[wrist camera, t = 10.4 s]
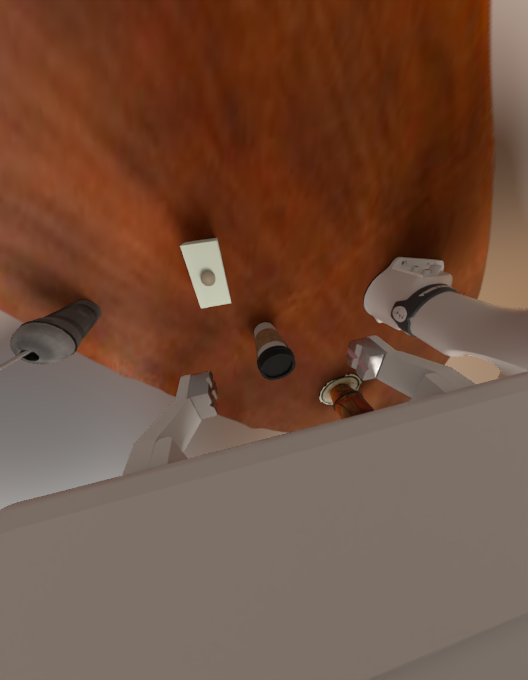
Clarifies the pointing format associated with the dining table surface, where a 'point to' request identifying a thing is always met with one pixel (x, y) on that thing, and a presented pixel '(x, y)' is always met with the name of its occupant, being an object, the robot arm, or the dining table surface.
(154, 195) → the dining table surface
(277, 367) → the coffee cup
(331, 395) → the decorative vase
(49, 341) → the beverage cup
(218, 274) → the lid
